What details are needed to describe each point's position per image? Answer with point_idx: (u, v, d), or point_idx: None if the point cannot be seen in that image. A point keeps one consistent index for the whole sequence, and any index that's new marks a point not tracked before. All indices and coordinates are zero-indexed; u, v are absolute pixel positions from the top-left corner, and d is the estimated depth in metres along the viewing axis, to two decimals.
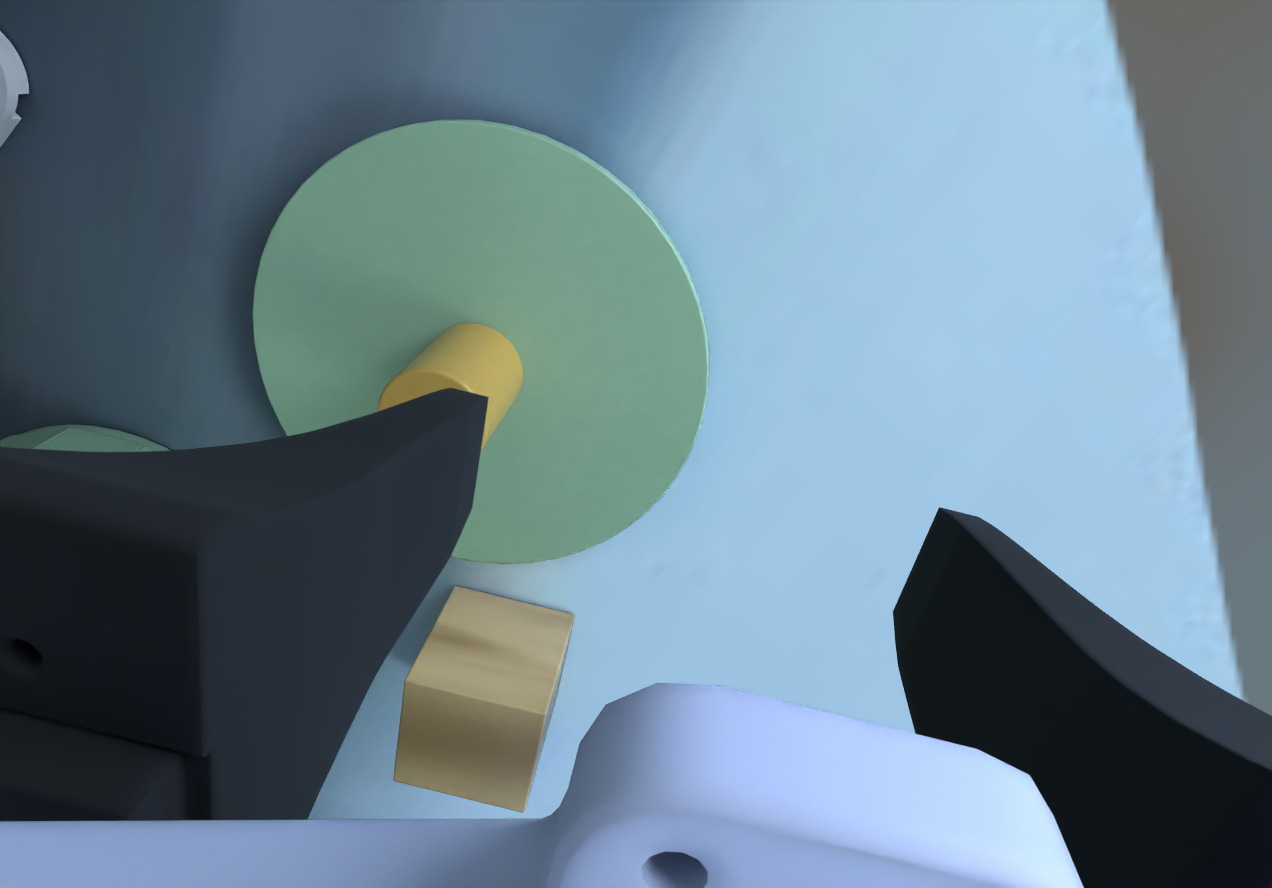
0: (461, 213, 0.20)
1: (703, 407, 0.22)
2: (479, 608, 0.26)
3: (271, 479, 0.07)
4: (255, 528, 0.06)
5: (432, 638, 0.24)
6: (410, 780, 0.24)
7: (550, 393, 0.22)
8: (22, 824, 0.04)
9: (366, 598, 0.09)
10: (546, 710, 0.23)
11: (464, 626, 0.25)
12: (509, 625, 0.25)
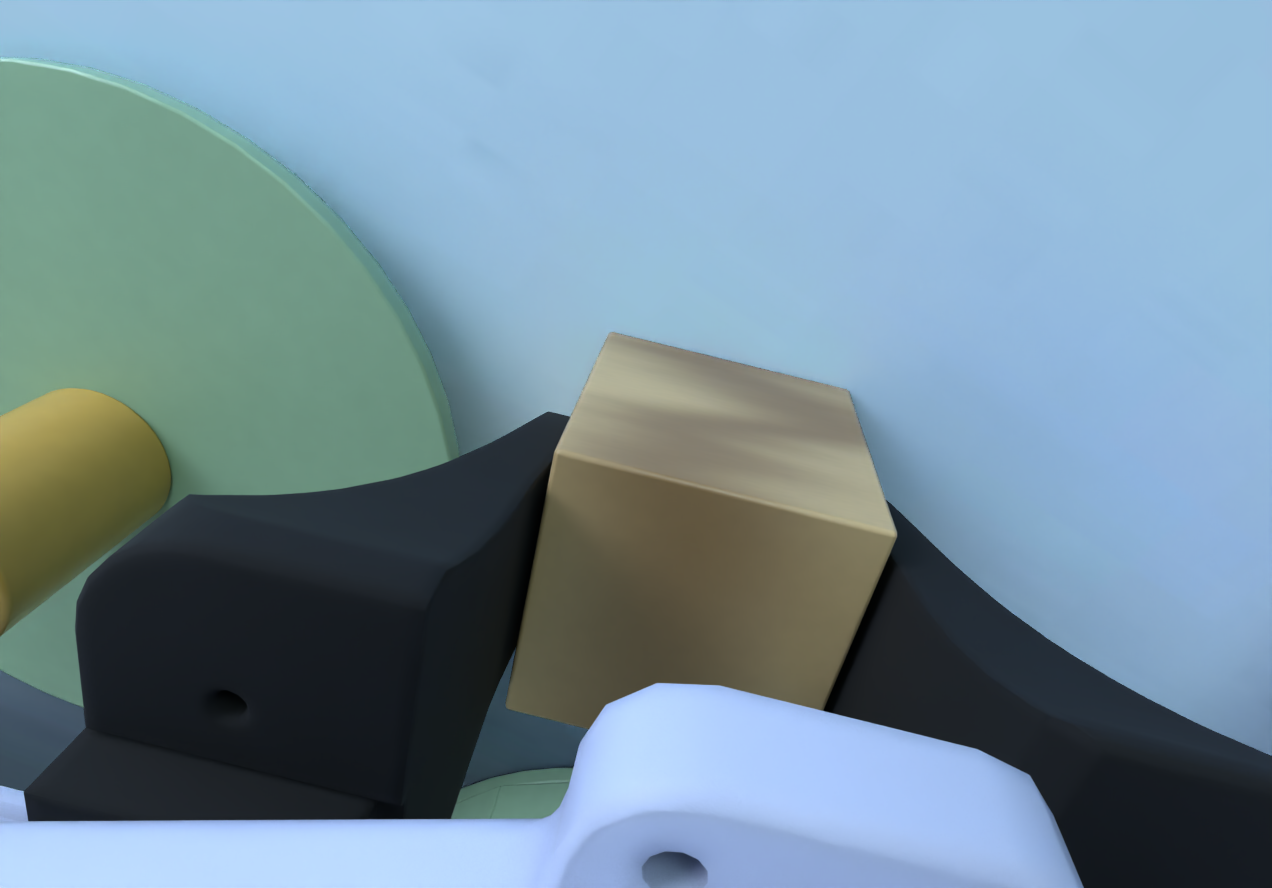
0: None
1: (36, 65, 0.11)
2: None
3: (434, 519, 0.07)
4: (455, 577, 0.06)
5: None
6: None
7: (101, 347, 0.13)
8: (21, 824, 0.04)
9: (496, 630, 0.09)
10: (558, 445, 0.09)
11: None
12: None
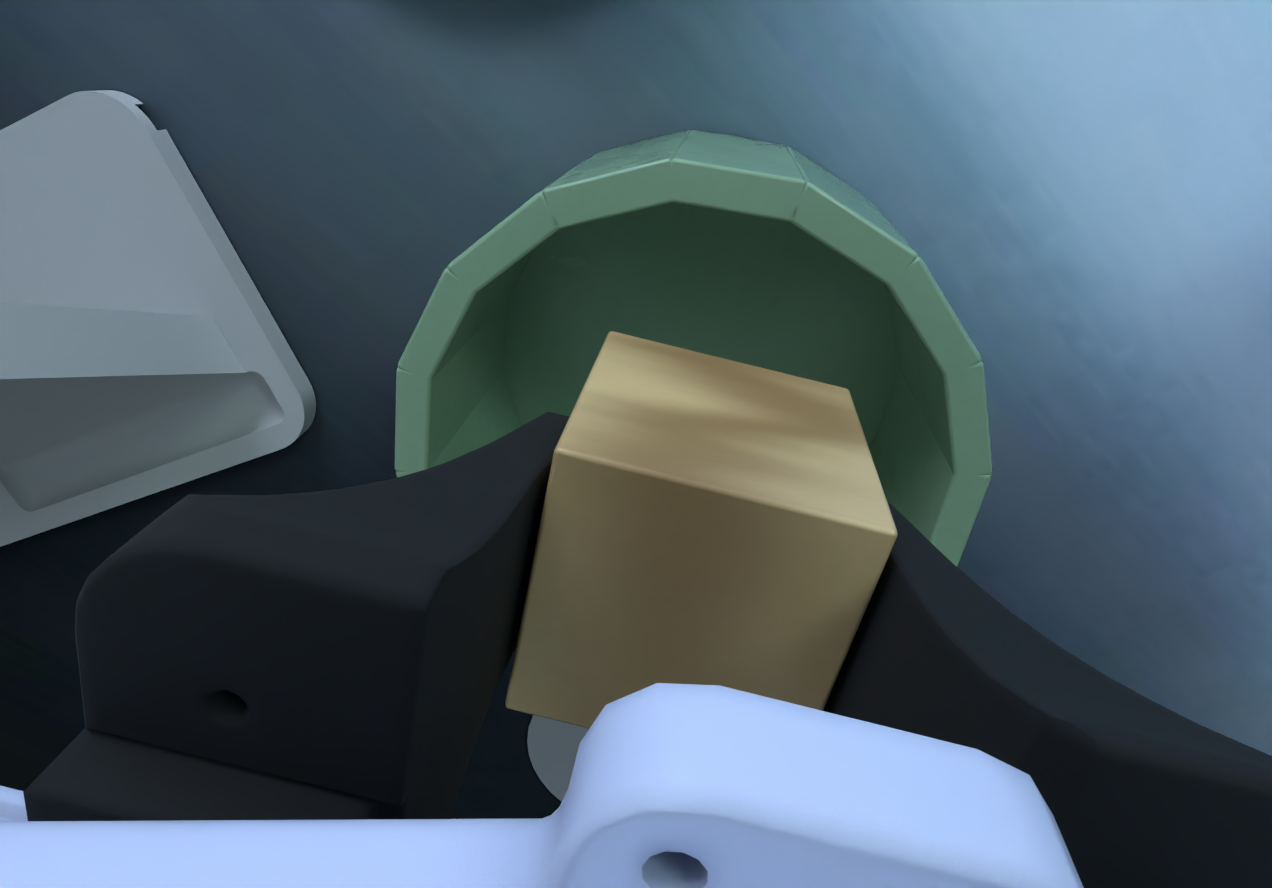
0: None
1: None
2: None
3: (435, 519, 0.07)
4: (454, 577, 0.06)
5: None
6: None
7: None
8: (22, 824, 0.04)
9: (496, 630, 0.09)
10: (558, 444, 0.09)
11: None
12: None
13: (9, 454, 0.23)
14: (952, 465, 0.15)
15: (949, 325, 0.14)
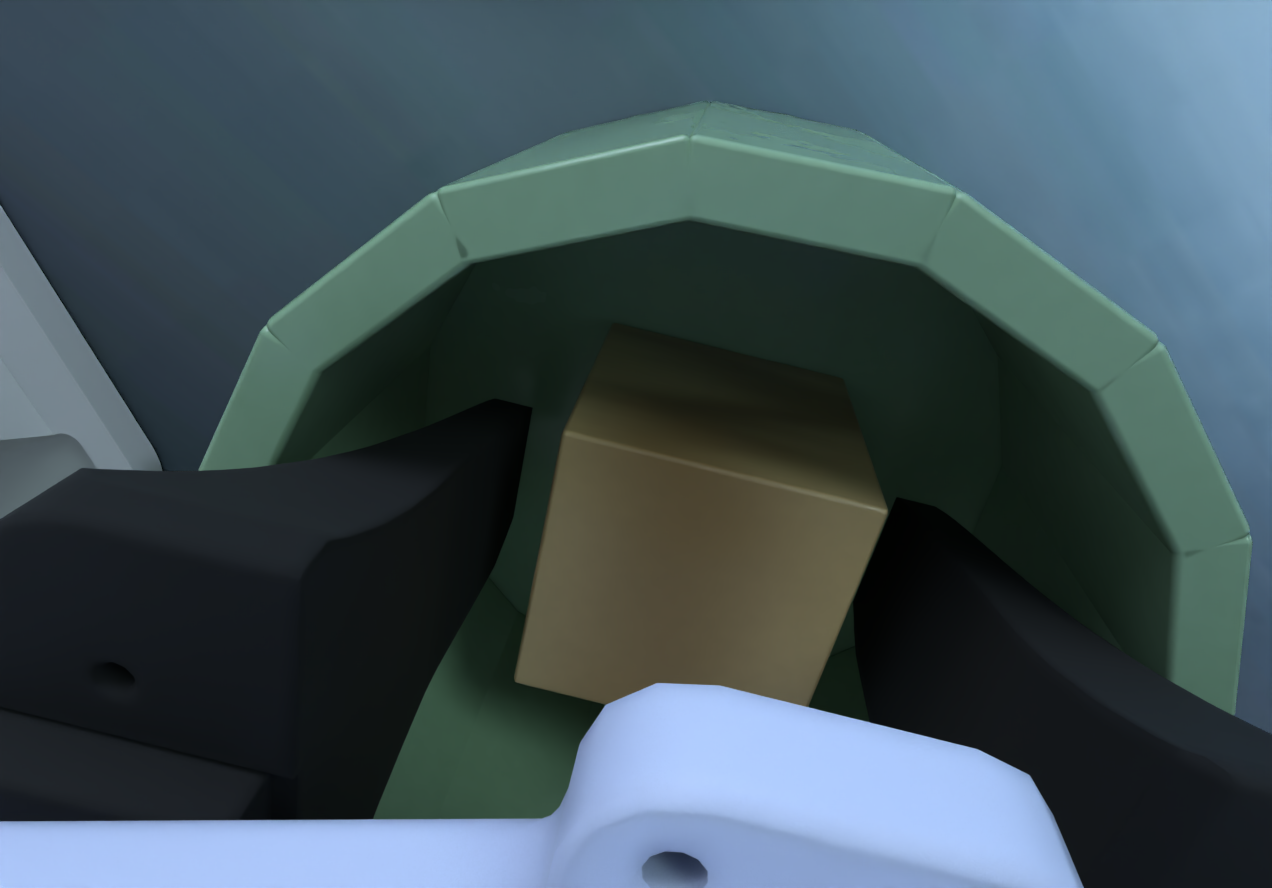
0: None
1: None
2: None
3: (344, 498, 0.07)
4: (345, 551, 0.06)
5: None
6: None
7: None
8: (21, 824, 0.04)
9: (425, 613, 0.09)
10: (565, 427, 0.10)
11: None
12: None
13: None
14: None
15: (1200, 470, 0.07)
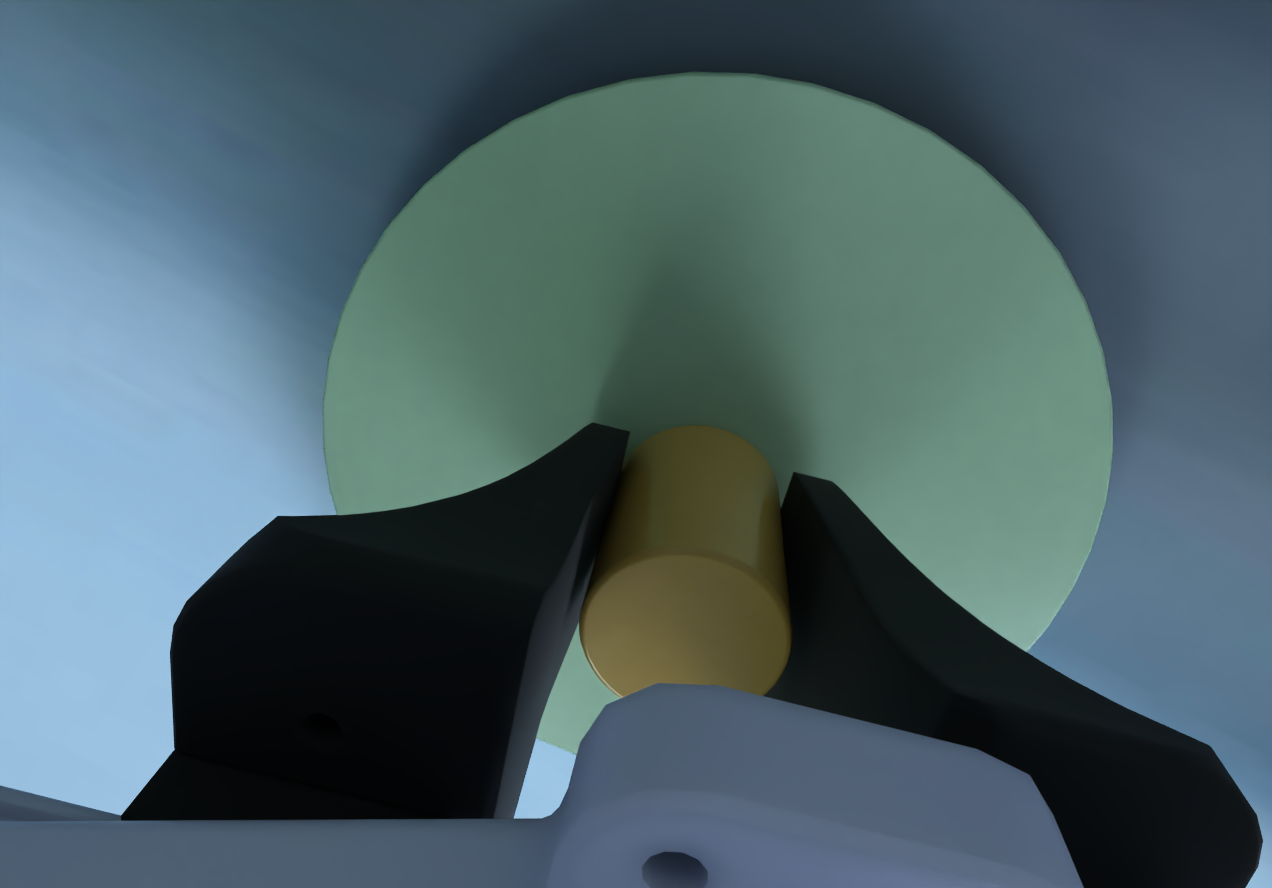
0: (958, 510, 0.13)
1: None
2: None
3: (509, 538, 0.07)
4: (545, 600, 0.06)
5: None
6: None
7: None
8: (22, 824, 0.04)
9: (555, 645, 0.09)
10: None
11: None
12: None
13: None
14: None
15: None
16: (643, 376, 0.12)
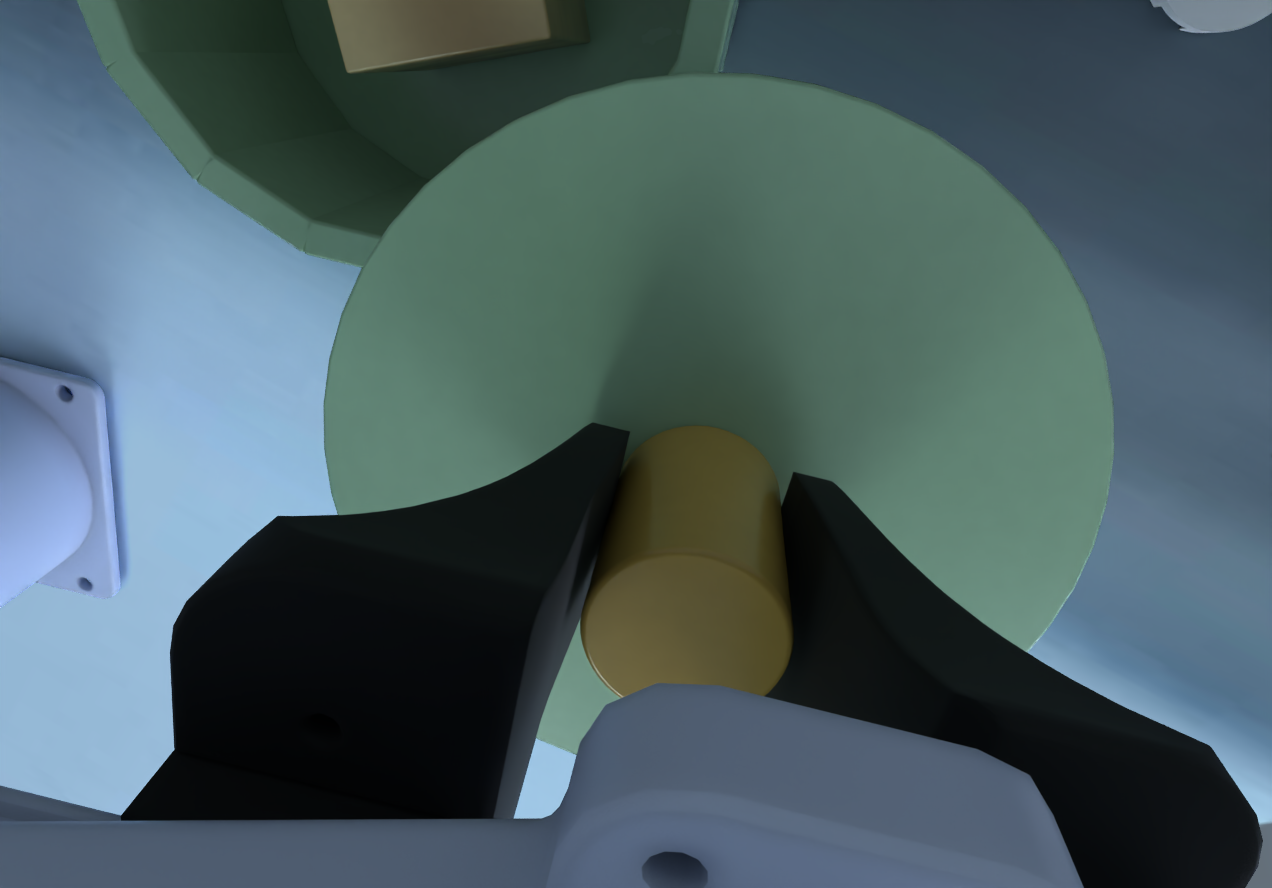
0: (959, 510, 0.13)
1: None
2: None
3: (508, 538, 0.07)
4: (545, 600, 0.06)
5: None
6: None
7: None
8: (22, 824, 0.04)
9: (555, 645, 0.09)
10: (552, 36, 0.15)
11: None
12: None
13: None
14: (143, 60, 0.14)
15: (242, 203, 0.15)
16: (645, 376, 0.12)
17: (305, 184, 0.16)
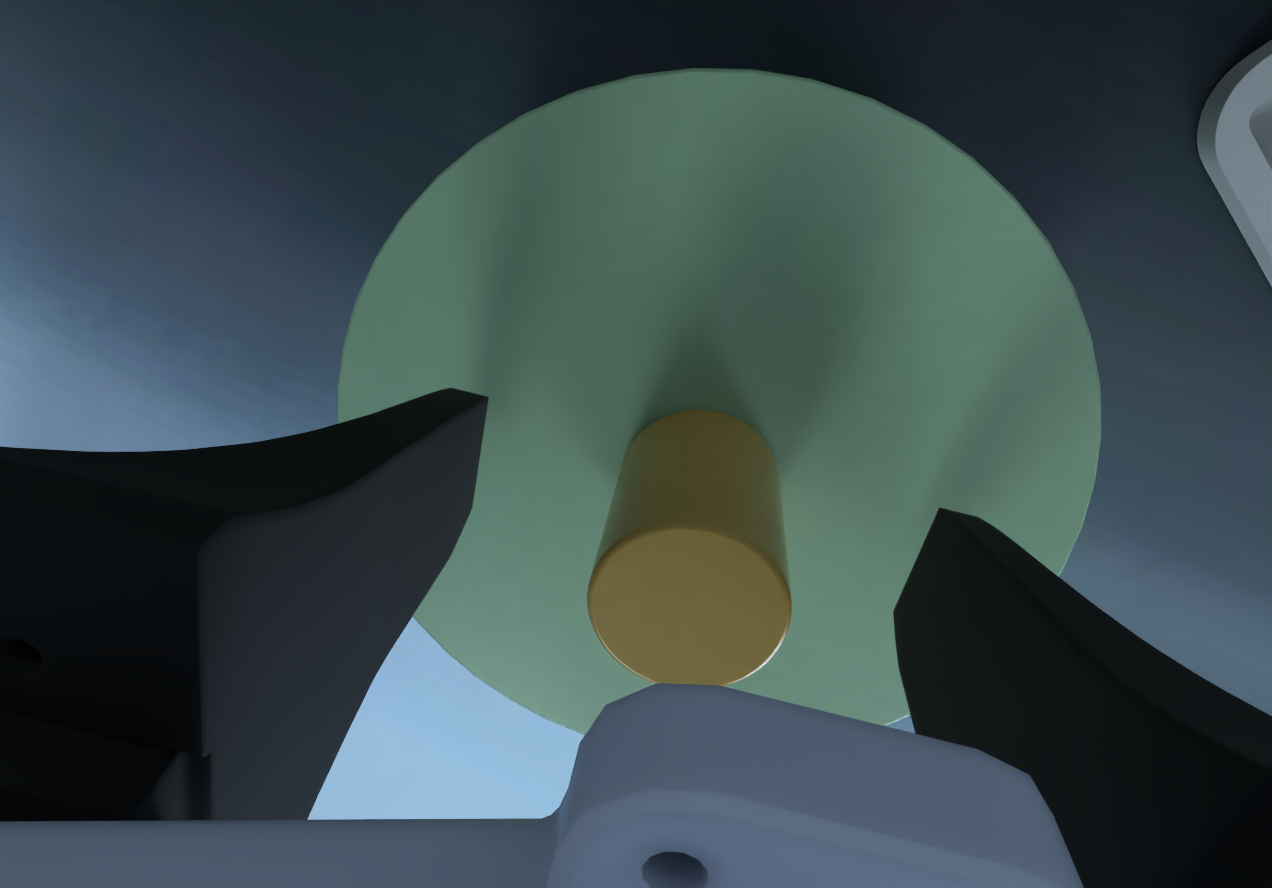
0: (952, 492, 0.13)
1: None
2: None
3: (271, 479, 0.07)
4: (255, 528, 0.06)
5: None
6: None
7: None
8: (22, 824, 0.04)
9: (366, 598, 0.09)
10: None
11: None
12: None
13: None
14: None
15: None
16: (648, 363, 0.13)
17: None
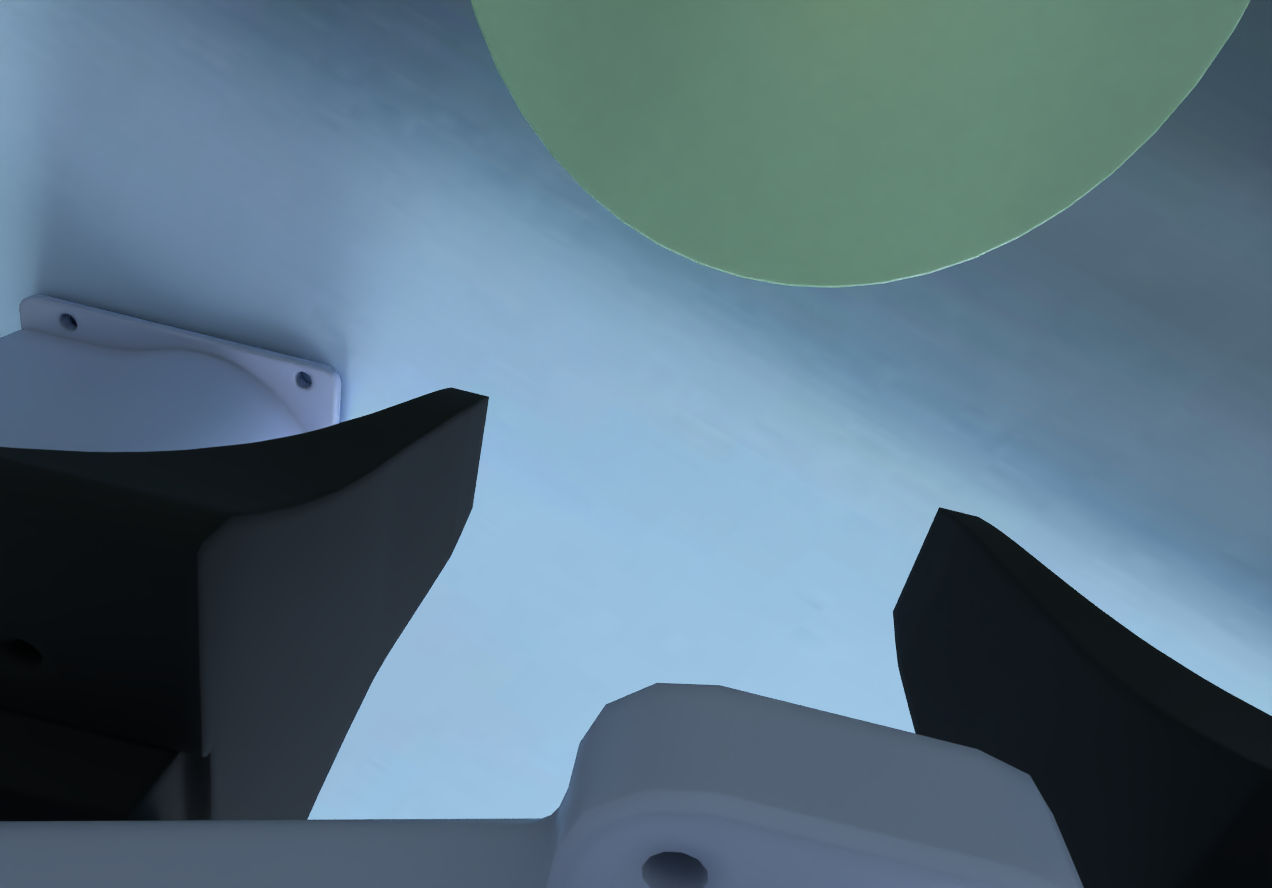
0: None
1: (769, 281, 0.15)
2: None
3: (270, 479, 0.07)
4: (255, 528, 0.06)
5: None
6: None
7: (801, 24, 0.13)
8: (22, 824, 0.04)
9: (366, 598, 0.09)
10: None
11: None
12: None
13: None
14: None
15: None
16: None
17: None
